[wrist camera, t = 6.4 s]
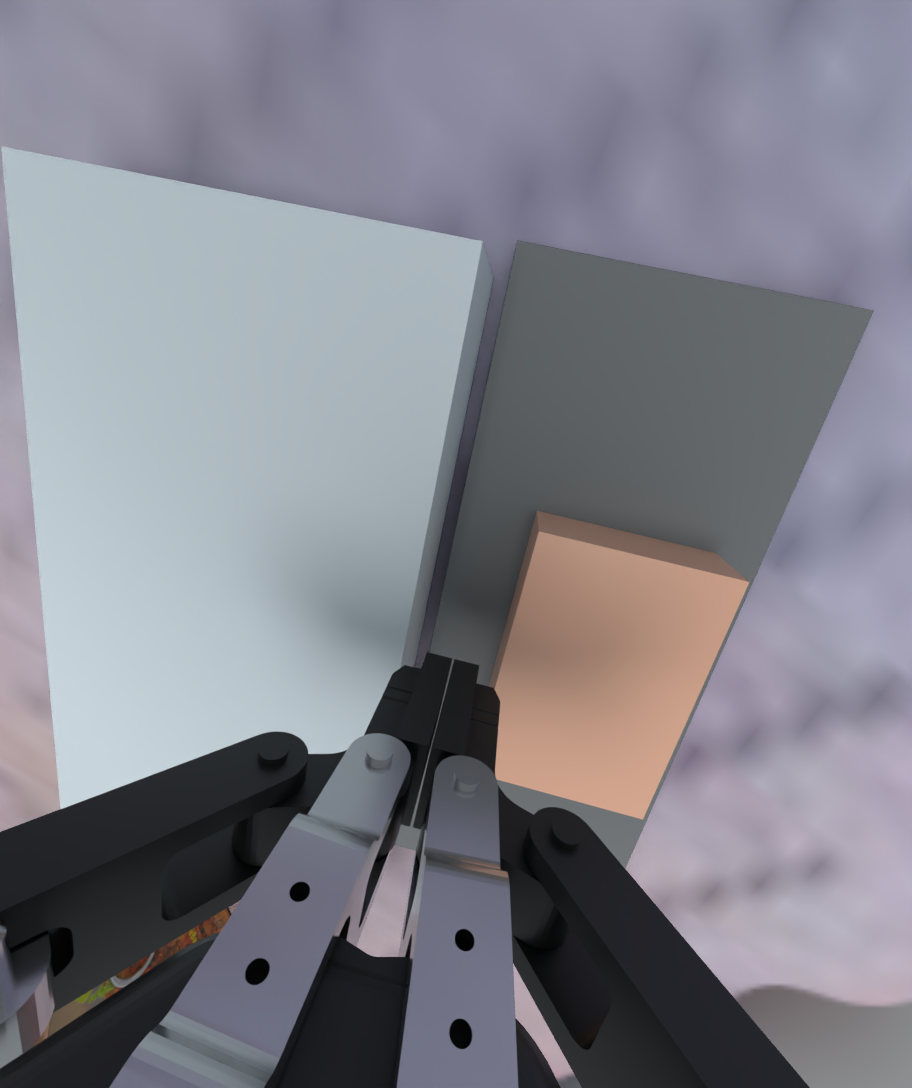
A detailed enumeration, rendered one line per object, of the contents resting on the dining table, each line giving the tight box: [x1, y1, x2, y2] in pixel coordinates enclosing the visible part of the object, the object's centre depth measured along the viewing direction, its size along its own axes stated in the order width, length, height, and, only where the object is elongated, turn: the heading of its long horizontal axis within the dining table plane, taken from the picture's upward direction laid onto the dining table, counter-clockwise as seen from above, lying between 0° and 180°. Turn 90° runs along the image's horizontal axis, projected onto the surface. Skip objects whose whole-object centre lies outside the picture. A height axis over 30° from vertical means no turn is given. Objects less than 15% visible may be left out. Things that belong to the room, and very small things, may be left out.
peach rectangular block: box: [489, 511, 749, 820], centre depth 16 cm, size 9×6×2 cm, turn 168°
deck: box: [1, 146, 493, 809], centre depth 17 cm, size 22×12×4 cm, turn 169°
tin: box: [33, 908, 231, 1047], centre depth 22 cm, size 15×3×8 cm, turn 12°
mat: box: [395, 240, 874, 868], centre depth 18 cm, size 24×10×1 cm, turn 169°
